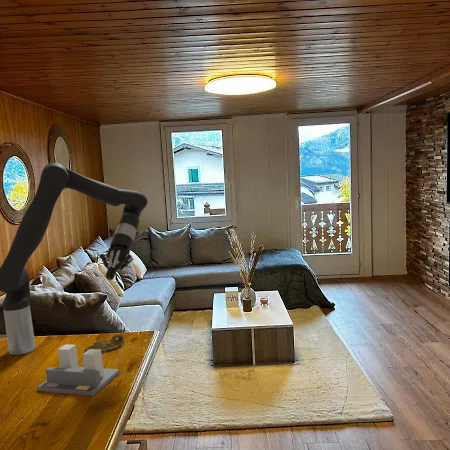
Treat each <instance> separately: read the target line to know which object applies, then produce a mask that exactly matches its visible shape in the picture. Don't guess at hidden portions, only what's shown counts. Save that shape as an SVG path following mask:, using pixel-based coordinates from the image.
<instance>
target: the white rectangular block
mask: <svg viewBox="0 0 450 450" xmlns="http://www.w3.org/2000/svg"><path fill="white" fill-rule="evenodd" d="M77 351H78V350H77V345H76V344H67V343H66V344H64V345H62V346H60V347H59V348H58V349H57V353H58V362H59V363H58V364H59V368H71V369H79V367H80V366H79V361H78V360H79V359H78V352H77Z"/></svg>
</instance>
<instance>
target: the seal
mask: <svg viewBox="0 0 450 450" xmlns="http://www.w3.org/2000/svg"><path fill="white" fill-rule="evenodd" d="M117 338H118V339H117ZM124 344H125V345H126V340H125V339H124V336H123V335H122V334H116V335H115V334H114V335H113V336H112V337H111V339H108V340H104V341H100V342H94V343H93V344H91V345H89V346H87V347H86V348H85V349H84V353H85V352H86V351H88V350H89V349H99V350H101V354H104V353H105V354H106V353H109V352H112V350H113V351H115V349H116V350H118V349H120V348H122V347H123V346H122V345H124ZM125 345H124V346H125ZM121 346H122V347H121ZM119 347H120V348H119ZM117 348H118V349H117Z"/></svg>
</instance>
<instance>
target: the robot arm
mask: <svg viewBox="0 0 450 450" xmlns="http://www.w3.org/2000/svg"><path fill="white" fill-rule="evenodd" d="M65 188H67V189H70V190H73V191H77V192H79V193H82V194H84V195H86V196H87V197H90V198H91V199H94V200H96V201H98V202H101V203H103V204H106V205H110V206H113V207H119V206H120V205H124V206H123V210H122V214H121V215H122V216H121V217H120V221H119V222H118V225H117V227H116V228H115V231H114V234H113V237H112V239H111V242H110V244H109V245H110V246H109V249H108V250H107V251H106V253H105V254H100V256H99V257H100V259H101V261H102V264H103V266H104V267H105V268H106V270H107V271H106V274H105V277H106V279H107V280H108V281H112V280H114V278H116V274H117V272H118V271H119V270H121V271H122V270H123V269H124V268H126V267H127V266H128V265H129V264H131V263H132V262H133V261H134V258H133V256H132V255H131V254H130V252H131V250H132V247H133V244H134V240H135V238H136V234H137V230H138V228H139V224H140V215H141V213H142V212H143V210H144V209H146V207H147V205H148V198H147V196H146V195H145V194H143V193H142V192H140V191H137V190H129V189H123V188H122V189H121V188H118V187H115V186H112V185H109V184H107V183H104V182H101V181H98V180H95V179H93V178H89V177H86V176H84V175H82V174H80V173H77V172H75V171H74V170H71V169H70V168H68V167H67V166H65V165H63V164H61V163H59V162H49V163H47V164H46V165H44V167H43V168H42V170H41V174H40V179H39V183H38V185H37V189H36V192H35V195H34V197H33V200H32V201H31V203H30V204H29V206H28V207H27V209H26V211H25V212H24V214H23V216H22V218H21V220H20V223H19V224H18V228H17V230H16V233H15V236H14V238H13V240H12V242H11V246H10V248H9V251H8V253H7V255H6V256H5V259H4V260H3V262H2V264H1V266H0V292H1V293H5V297H4V300H3V301H2V310H3V317H4V323H5V332H6V339H7V346H8V353H9V355H11V356H20V355H26V354H29V353H30V352H33V351H34V350H36V342H35V334H34V326H33V320H32V318H33V317H32V312H31V305H30V299H31V284H30V276H29V272H28V270H27V269H26V268H25V267H26V264H27V262H28V261H29V259H30V257H31V256H32V255H33V254H34V253H35V250H36V249H37V248H38V247H39V246H40V244H41V242H42V240H43V238H44V237H45V234H46V231H47V229H48V227H49V224H50V223H51V218H52V215H53V212H54V208H55V205H56V203H57V201H58V199H59V197H60V195H61V194H62V192H63V191H64V189H65Z"/></svg>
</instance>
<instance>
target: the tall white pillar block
mask: <svg viewBox="0 0 450 450" xmlns="http://www.w3.org/2000/svg"><path fill="white" fill-rule="evenodd" d="M102 354H103V353H101V350H99V349H89V350H88V351H86V352H85V351H84V353H82V362H83V367H84V369H86V370H99V373H100V378H101V377H102V376H103V375H104V372H103V368H104V365H103V356H102Z"/></svg>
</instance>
